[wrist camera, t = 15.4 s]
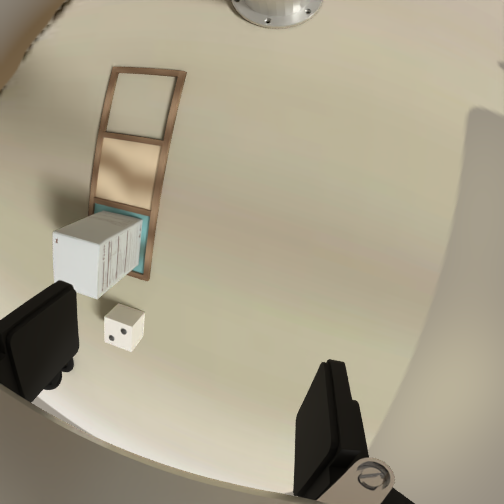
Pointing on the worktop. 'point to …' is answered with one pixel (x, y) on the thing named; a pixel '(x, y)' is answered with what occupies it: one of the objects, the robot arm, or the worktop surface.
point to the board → (133, 169)
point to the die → (124, 327)
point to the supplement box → (96, 251)
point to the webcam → (59, 376)
